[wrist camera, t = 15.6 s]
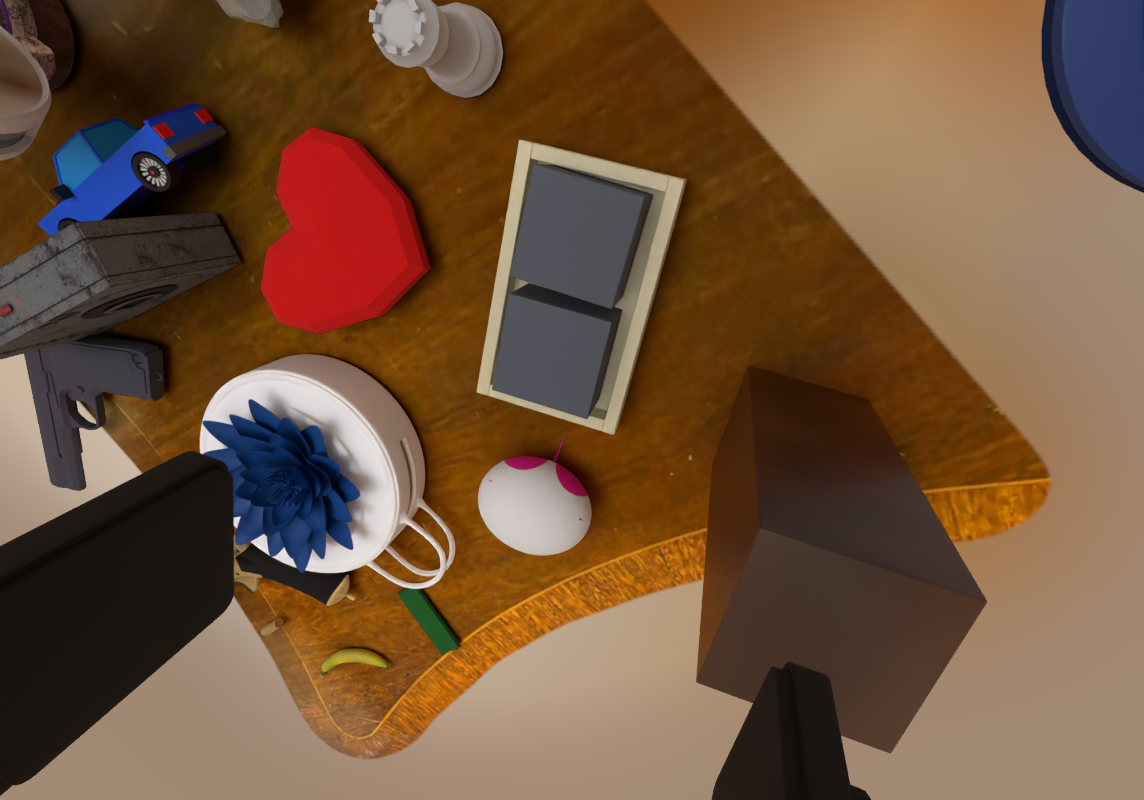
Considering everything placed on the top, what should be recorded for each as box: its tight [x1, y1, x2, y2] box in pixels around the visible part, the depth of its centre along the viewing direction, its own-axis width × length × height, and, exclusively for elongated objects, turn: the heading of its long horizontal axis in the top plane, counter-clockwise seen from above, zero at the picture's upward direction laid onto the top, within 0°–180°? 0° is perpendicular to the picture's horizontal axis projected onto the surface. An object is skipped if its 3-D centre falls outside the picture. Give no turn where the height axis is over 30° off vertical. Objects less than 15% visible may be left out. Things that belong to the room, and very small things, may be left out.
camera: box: [0, 212, 242, 359], centre depth 39 cm, size 16×4×10 cm, turn 113°
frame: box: [477, 140, 687, 435], centre depth 36 cm, size 9×15×2 cm, turn 167°
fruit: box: [321, 648, 389, 676], centre depth 52 cm, size 7×1×3 cm
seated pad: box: [492, 283, 622, 419], centre depth 36 cm, size 6×6×4 cm
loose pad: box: [510, 164, 653, 309], centre depth 33 cm, size 6×6×4 cm
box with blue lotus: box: [200, 354, 455, 589], centre depth 42 cm, size 7×16×20 cm
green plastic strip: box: [398, 588, 461, 654], centre depth 49 cm, size 6×1×2 cm
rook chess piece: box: [369, 0, 503, 98], centre depth 30 cm, size 4×4×8 cm
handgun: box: [24, 335, 165, 491], centre depth 49 cm, size 18×2×12 cm
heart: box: [261, 127, 431, 334], centre depth 37 cm, size 12×4×10 cm
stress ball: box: [478, 436, 592, 555], centre depth 40 cm, size 8×8×7 cm
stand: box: [696, 366, 987, 753], centre depth 28 cm, size 7×7×18 cm
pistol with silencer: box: [234, 534, 356, 636], centre depth 52 cm, size 4×25×11 cm
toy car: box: [37, 103, 227, 236], centre depth 38 cm, size 7×12×5 cm
